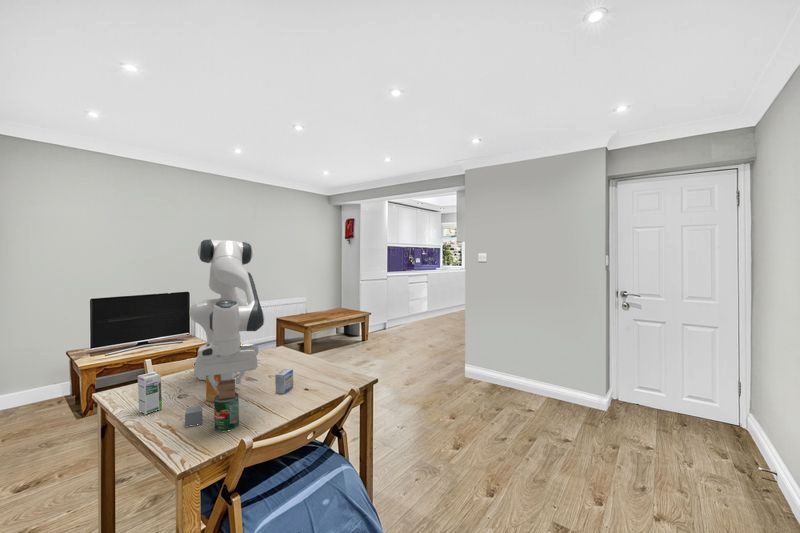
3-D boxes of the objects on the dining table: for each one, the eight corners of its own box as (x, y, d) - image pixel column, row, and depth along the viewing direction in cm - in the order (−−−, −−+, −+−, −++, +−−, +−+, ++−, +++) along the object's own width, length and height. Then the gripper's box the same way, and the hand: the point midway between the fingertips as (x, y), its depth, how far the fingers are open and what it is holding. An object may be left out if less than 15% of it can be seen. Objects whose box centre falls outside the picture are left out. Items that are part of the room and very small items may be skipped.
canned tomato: (242, 420, 128) (241, 391, 127) (234, 431, 120) (234, 400, 119) (219, 421, 127) (219, 392, 126) (210, 432, 119) (209, 401, 119)
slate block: (186, 421, 127) (186, 408, 127) (202, 418, 129) (202, 405, 129) (185, 427, 123) (184, 414, 122) (201, 424, 125) (201, 411, 124)
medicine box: (284, 394, 151) (284, 375, 151) (275, 393, 152) (275, 374, 152) (293, 387, 159) (293, 369, 158) (284, 386, 160) (284, 368, 159)
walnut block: (219, 394, 124) (219, 380, 124) (234, 392, 126) (234, 378, 126) (218, 399, 120) (219, 385, 120) (234, 397, 122) (235, 383, 122)
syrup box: (145, 415, 131) (144, 378, 130) (138, 411, 134) (137, 375, 133) (162, 409, 136) (161, 373, 135) (155, 406, 139) (154, 370, 138)
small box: (205, 401, 144) (205, 370, 143) (218, 395, 150) (217, 365, 149) (221, 404, 141) (220, 372, 141) (233, 397, 147) (232, 367, 147)
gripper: (257, 341, 130) (257, 377, 130) (194, 347, 121) (195, 386, 121) (259, 345, 124) (259, 383, 125) (193, 352, 115) (193, 393, 116)
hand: (227, 384), depth 123 cm, fingers open, 6 cm apart
